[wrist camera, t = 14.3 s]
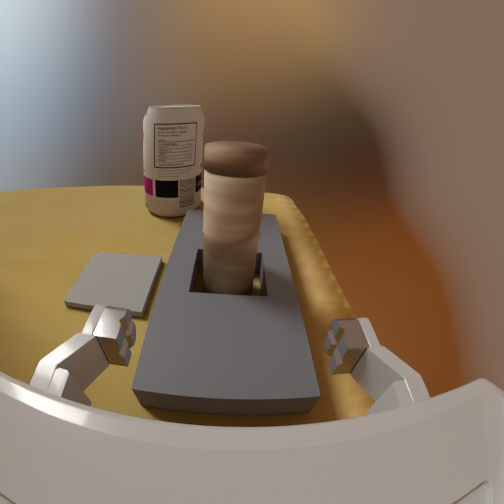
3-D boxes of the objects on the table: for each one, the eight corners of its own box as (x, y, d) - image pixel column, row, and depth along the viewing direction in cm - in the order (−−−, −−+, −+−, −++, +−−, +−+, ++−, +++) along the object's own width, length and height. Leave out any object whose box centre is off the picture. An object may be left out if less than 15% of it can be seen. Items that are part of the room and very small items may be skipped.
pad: (142, 317, 21) (141, 312, 20) (66, 305, 20) (64, 301, 20) (162, 261, 27) (161, 256, 27) (96, 256, 27) (95, 252, 26)
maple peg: (225, 316, 22) (235, 156, 15) (193, 288, 24) (192, 144, 17) (262, 294, 25) (283, 151, 18) (229, 270, 27) (239, 139, 20)
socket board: (309, 411, 15) (321, 394, 14) (141, 405, 14) (131, 387, 13) (272, 231, 35) (275, 213, 34) (187, 226, 34) (187, 207, 33)
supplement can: (135, 211, 37) (131, 108, 29) (169, 193, 43) (170, 104, 35) (178, 224, 34) (179, 107, 26) (210, 203, 41) (216, 105, 33)
